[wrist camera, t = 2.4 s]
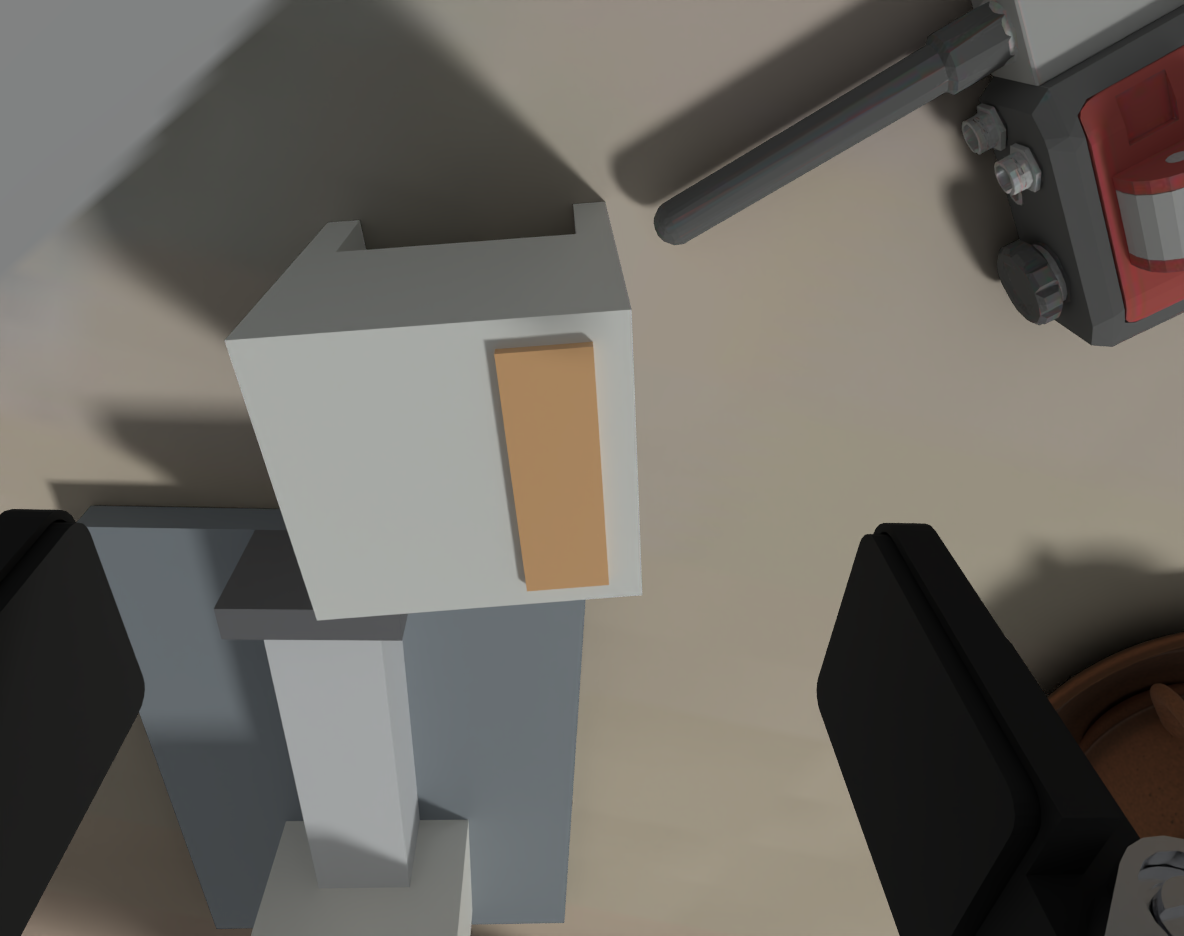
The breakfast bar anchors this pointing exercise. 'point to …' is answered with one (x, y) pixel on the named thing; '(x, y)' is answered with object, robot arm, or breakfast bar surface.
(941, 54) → the walkie-talkie
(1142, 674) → the cup and saucer
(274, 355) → the block
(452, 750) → the rail
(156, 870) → the breakfast bar surface
